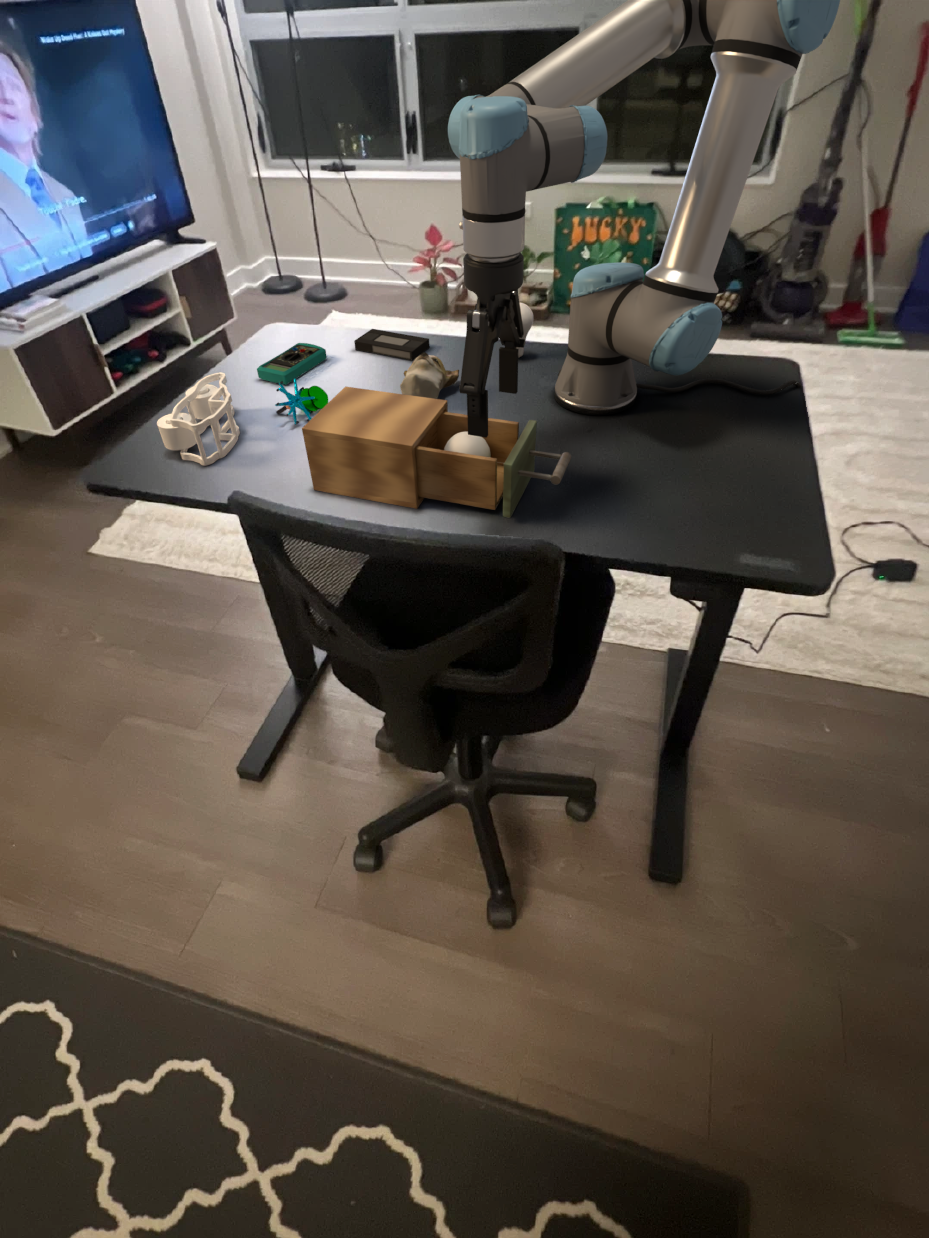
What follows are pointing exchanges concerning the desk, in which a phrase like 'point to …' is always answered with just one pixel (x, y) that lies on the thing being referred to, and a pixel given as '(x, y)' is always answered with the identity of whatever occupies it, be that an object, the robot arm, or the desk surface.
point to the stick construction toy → (303, 400)
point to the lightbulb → (525, 323)
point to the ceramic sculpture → (427, 377)
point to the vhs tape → (392, 344)
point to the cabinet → (370, 444)
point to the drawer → (481, 464)
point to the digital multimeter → (292, 363)
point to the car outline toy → (205, 405)
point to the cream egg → (468, 445)
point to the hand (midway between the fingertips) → (493, 412)
